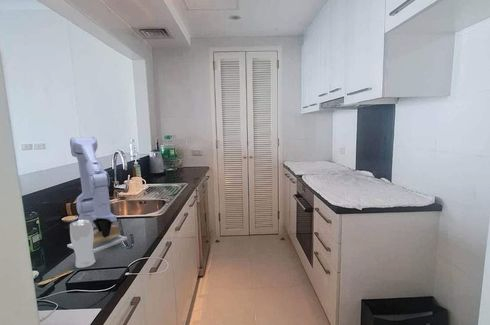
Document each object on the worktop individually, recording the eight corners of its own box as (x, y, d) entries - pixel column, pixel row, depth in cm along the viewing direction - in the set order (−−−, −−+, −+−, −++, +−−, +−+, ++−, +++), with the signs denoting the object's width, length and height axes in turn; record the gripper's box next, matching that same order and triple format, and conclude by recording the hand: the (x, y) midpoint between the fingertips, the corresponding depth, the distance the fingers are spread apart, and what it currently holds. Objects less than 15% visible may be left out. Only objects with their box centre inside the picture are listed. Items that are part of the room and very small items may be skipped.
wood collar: (75, 243, 110) (73, 233, 110) (103, 233, 120) (102, 224, 120) (92, 245, 104) (90, 235, 104) (120, 235, 114) (118, 225, 114)
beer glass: (101, 260, 96) (97, 219, 95) (84, 270, 90) (79, 226, 88) (86, 258, 99) (82, 218, 97) (69, 267, 92) (63, 225, 90)
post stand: (67, 247, 110) (65, 234, 109) (104, 233, 123) (103, 221, 123) (90, 254, 102) (88, 240, 101) (127, 239, 115) (126, 226, 115)
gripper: (81, 203, 108) (84, 236, 110) (102, 207, 101) (106, 242, 102) (98, 199, 114) (101, 230, 116) (120, 203, 107) (123, 236, 108)
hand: (105, 236), depth 109 cm, fingers closed on wood collar
